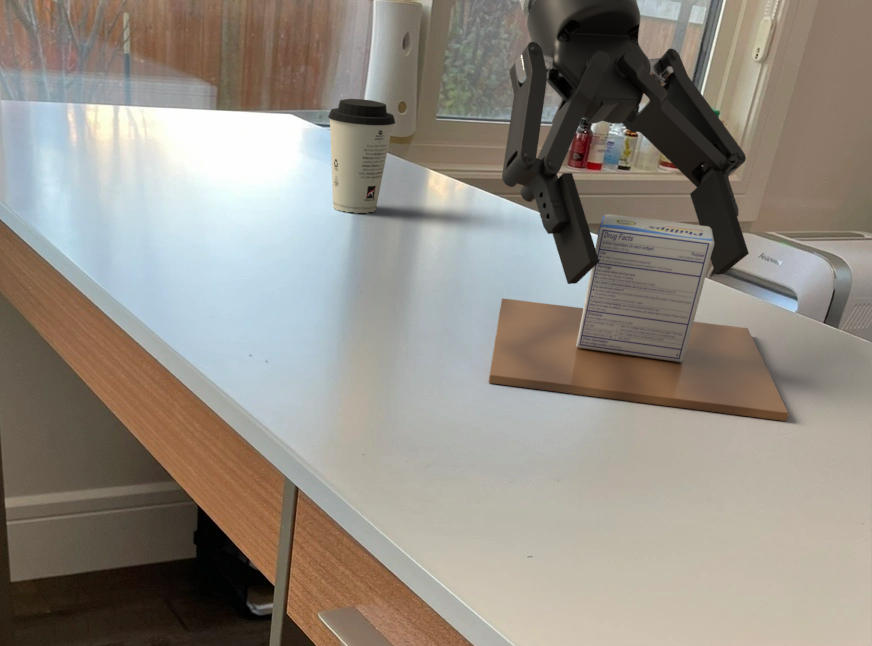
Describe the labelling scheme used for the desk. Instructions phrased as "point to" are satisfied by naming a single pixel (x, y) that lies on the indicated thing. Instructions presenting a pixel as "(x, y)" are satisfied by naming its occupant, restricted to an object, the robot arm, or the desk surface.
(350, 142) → the coffee cup
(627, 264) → the medicine box
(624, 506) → the desk surface
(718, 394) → the wooden board
